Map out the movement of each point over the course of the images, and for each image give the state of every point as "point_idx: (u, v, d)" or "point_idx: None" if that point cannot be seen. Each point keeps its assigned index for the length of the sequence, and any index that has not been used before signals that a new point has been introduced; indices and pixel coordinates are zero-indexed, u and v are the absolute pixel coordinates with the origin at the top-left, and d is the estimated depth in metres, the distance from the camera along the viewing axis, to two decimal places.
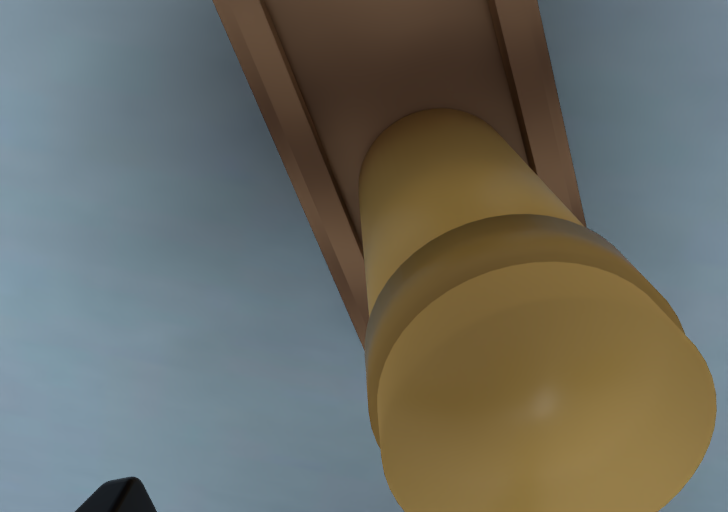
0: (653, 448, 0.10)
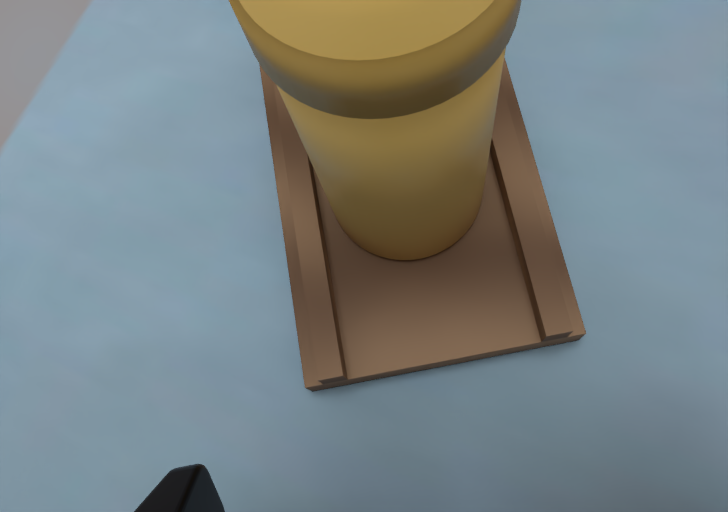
0: None
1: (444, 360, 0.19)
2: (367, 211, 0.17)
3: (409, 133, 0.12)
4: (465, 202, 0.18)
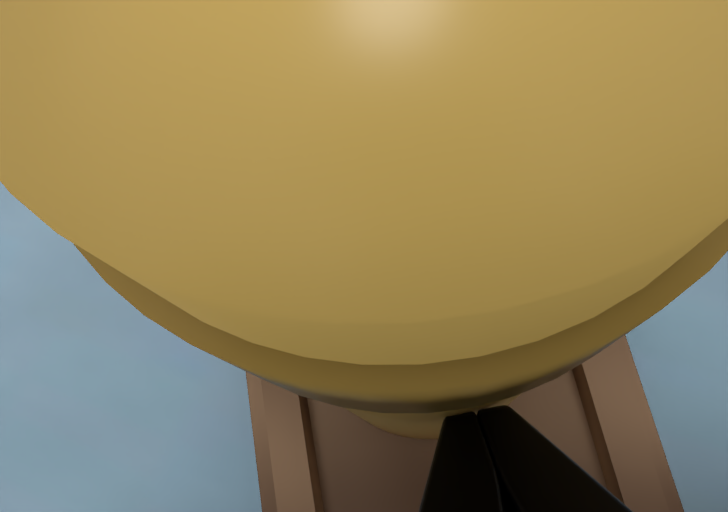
0: None
1: None
2: (372, 421, 0.10)
3: None
4: None
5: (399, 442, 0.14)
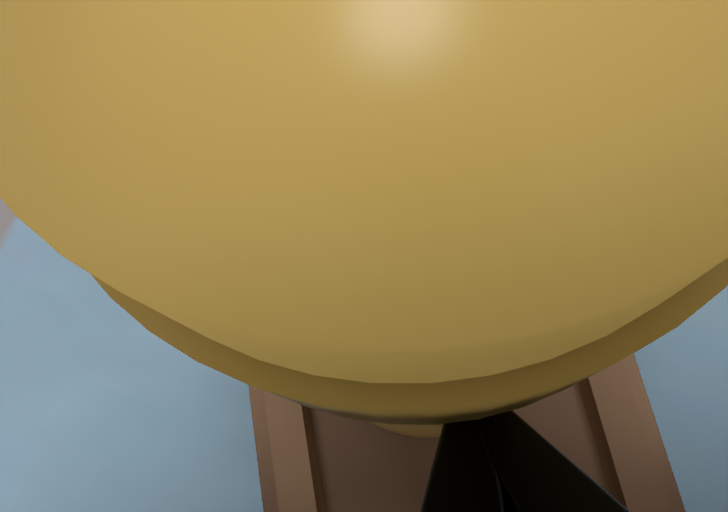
0: None
1: None
2: (375, 423, 0.10)
3: None
4: None
5: None
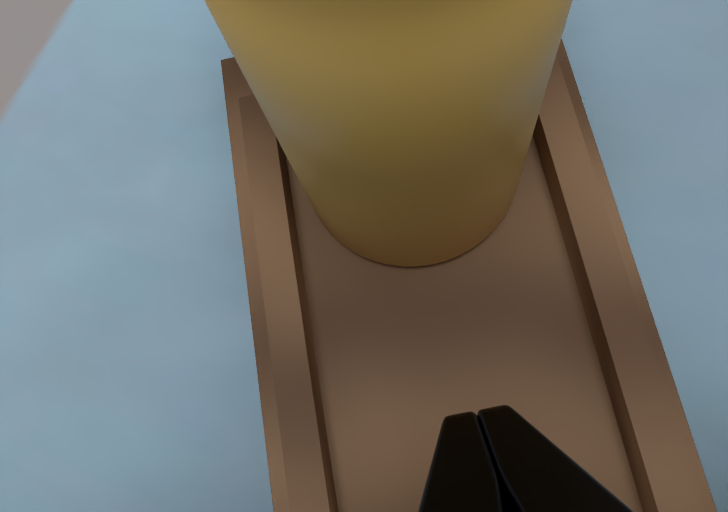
0: None
1: None
2: (353, 194, 0.11)
3: (427, 36, 0.06)
4: (502, 182, 0.12)
5: None
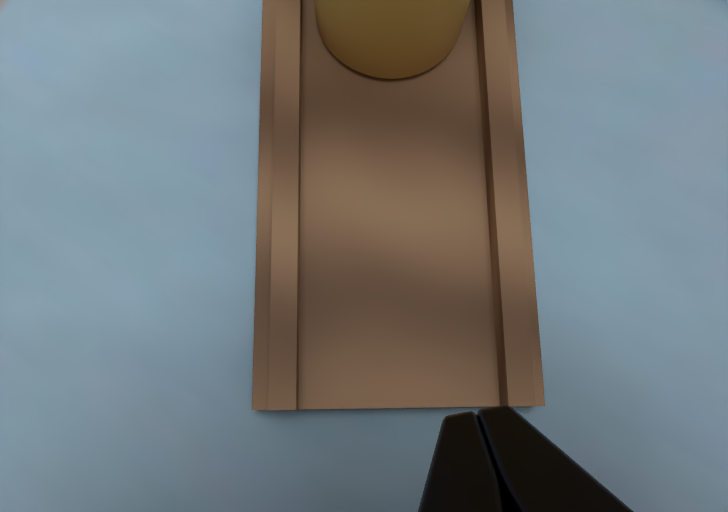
0: None
1: (400, 407, 0.19)
2: None
3: None
4: (447, 15, 0.18)
5: (360, 245, 0.20)
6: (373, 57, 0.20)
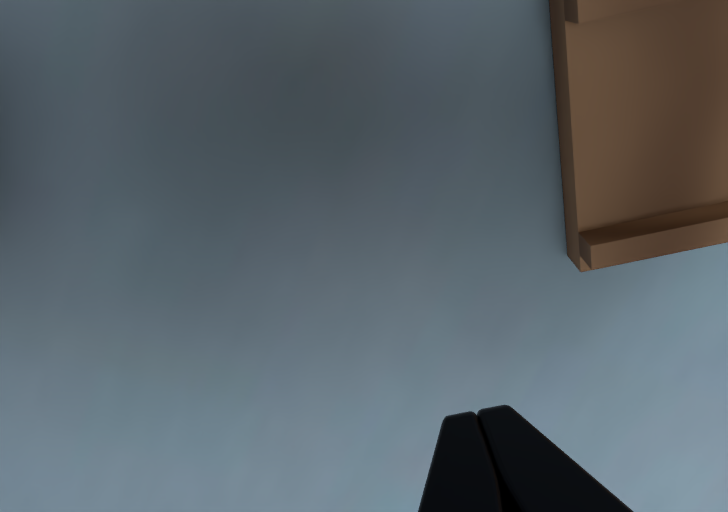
0: None
1: (572, 135, 0.17)
2: None
3: None
4: None
5: None
6: None
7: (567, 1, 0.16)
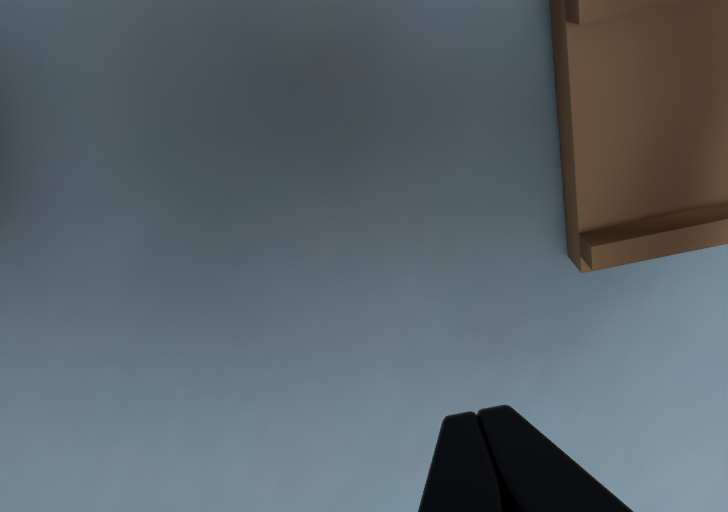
0: None
1: (573, 136, 0.17)
2: None
3: None
4: None
5: None
6: None
7: (568, 2, 0.16)
